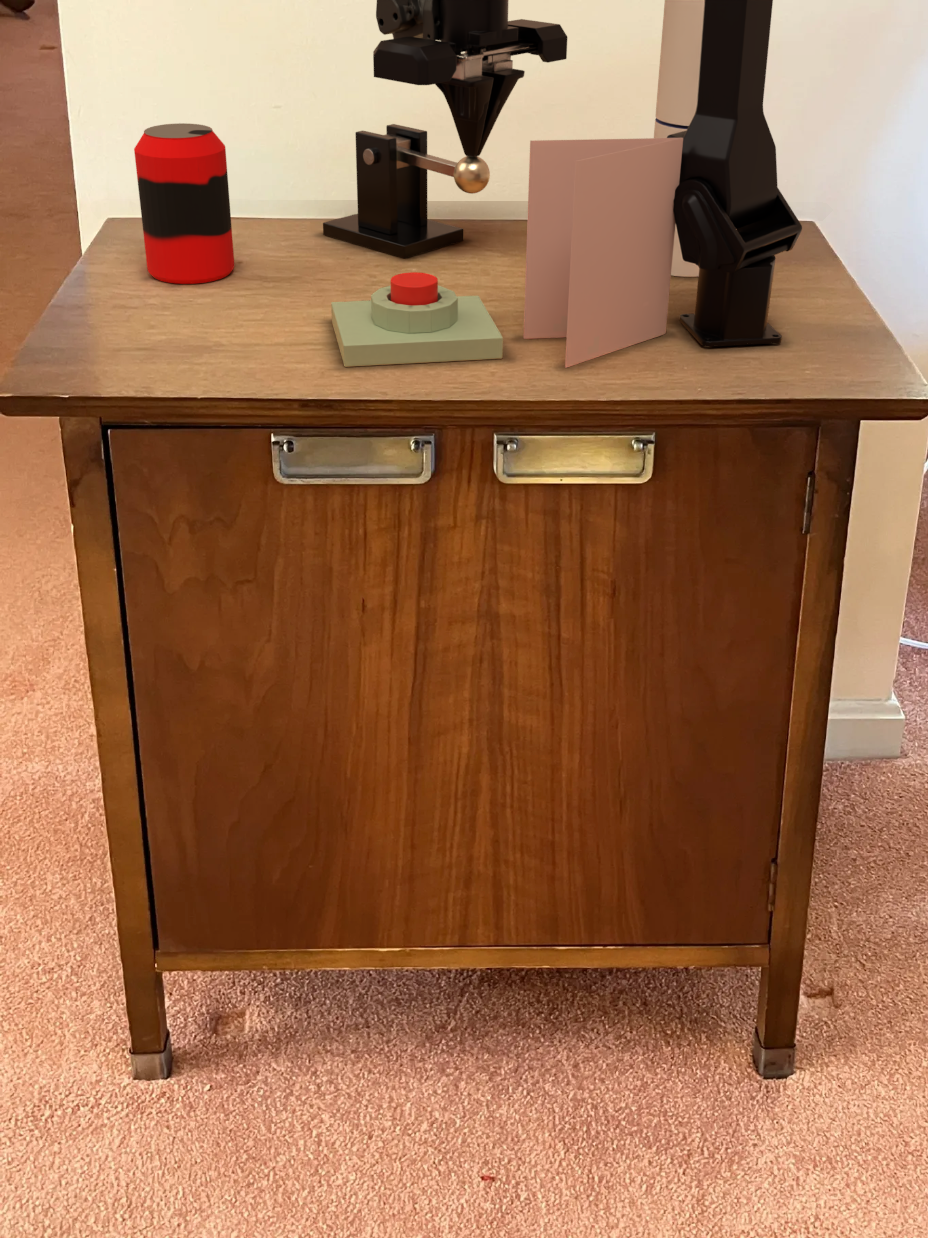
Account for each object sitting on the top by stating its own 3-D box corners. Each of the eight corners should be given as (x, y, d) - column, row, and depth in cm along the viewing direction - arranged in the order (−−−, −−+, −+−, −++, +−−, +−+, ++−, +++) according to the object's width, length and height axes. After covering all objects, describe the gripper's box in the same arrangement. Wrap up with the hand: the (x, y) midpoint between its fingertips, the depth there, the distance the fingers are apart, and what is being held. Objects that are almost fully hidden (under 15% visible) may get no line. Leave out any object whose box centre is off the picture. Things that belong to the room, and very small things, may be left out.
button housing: (502, 358, 103) (503, 314, 101) (344, 367, 101) (342, 321, 100) (478, 315, 112) (479, 273, 110) (331, 322, 110) (330, 279, 108)
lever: (496, 193, 122) (498, 156, 120) (472, 200, 120) (473, 162, 118) (392, 163, 129) (393, 128, 127) (368, 169, 127) (368, 133, 125)
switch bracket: (463, 241, 130) (465, 134, 125) (404, 258, 125) (403, 148, 120) (382, 219, 136) (380, 116, 131) (322, 235, 131) (318, 128, 126)
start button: (441, 308, 104) (441, 285, 103) (394, 310, 103) (393, 287, 102) (433, 293, 107) (433, 271, 106) (388, 295, 106) (387, 273, 105)
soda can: (215, 288, 117) (202, 143, 111) (133, 281, 118) (116, 137, 112) (247, 262, 123) (237, 124, 117) (169, 256, 125) (155, 118, 118)
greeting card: (662, 330, 109) (680, 135, 101) (687, 363, 103) (707, 158, 95) (521, 334, 108) (528, 137, 100) (538, 369, 102) (546, 161, 94)
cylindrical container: (631, 269, 123) (655, -38, 110) (660, 248, 128) (685, -46, 115) (707, 281, 120) (740, -32, 107) (733, 260, 125) (767, -41, 112)
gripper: (477, -56, 122) (475, 126, 130) (323, -40, 110) (331, 158, 119) (575, -46, 116) (566, 144, 124) (422, -29, 104) (423, 180, 112)
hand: (472, 156), depth 120 cm, fingers closed, pressing on lever
